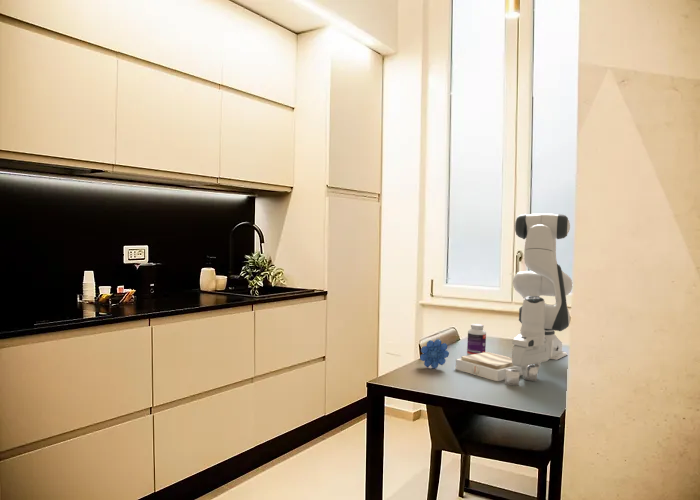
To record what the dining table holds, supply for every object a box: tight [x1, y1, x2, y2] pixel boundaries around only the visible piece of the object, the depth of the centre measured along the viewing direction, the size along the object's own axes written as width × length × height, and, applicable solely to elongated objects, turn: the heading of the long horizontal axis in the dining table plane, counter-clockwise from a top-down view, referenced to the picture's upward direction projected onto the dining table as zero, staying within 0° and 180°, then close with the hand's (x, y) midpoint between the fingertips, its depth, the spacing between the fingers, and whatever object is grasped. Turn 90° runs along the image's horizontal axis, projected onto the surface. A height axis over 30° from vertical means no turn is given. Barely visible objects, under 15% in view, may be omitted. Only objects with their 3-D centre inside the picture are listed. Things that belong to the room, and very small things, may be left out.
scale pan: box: [460, 351, 513, 369], centre depth 206 cm, size 17×17×1 cm
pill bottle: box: [466, 323, 487, 356], centre depth 232 cm, size 8×8×14 cm
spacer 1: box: [504, 369, 520, 387], centre depth 190 cm, size 5×5×5 cm
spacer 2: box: [522, 364, 539, 382], centre depth 197 cm, size 5×5×5 cm
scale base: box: [455, 357, 523, 382], centre depth 206 cm, size 21×20×4 cm
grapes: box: [419, 338, 450, 369], centre depth 209 cm, size 12×7×12 cm, turn 71°
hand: (530, 375), depth 197 cm, fingers closed on spacer 2, 5 cm apart
